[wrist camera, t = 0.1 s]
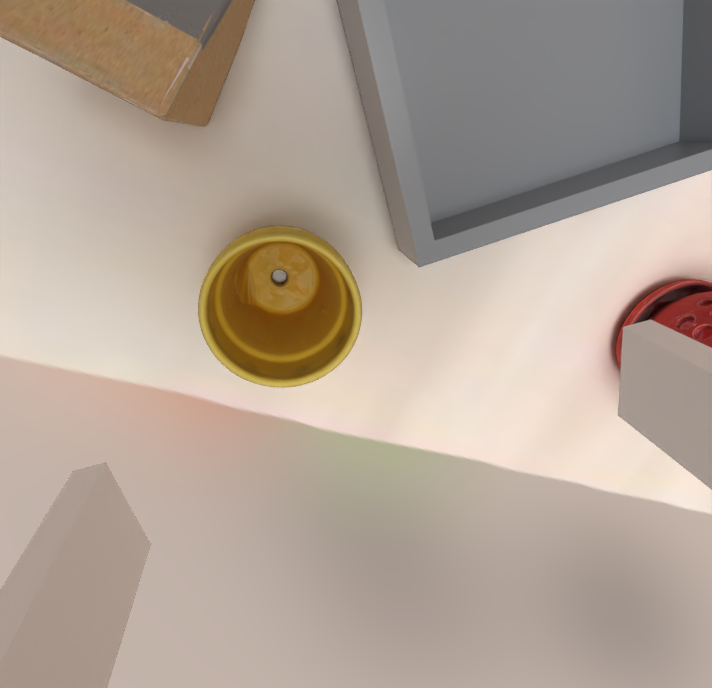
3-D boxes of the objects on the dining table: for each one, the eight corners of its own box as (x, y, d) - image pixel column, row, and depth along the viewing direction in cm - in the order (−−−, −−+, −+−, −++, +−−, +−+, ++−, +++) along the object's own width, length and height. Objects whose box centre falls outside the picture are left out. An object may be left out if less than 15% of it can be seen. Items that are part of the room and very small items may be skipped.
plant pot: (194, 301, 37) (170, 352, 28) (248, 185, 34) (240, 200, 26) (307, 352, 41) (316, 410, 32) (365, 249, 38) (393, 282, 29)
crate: (295, -168, 27) (300, -245, 22) (701, -289, 28) (804, -392, 22) (398, 249, 38) (419, 267, 33) (685, 154, 39) (751, 156, 34)
